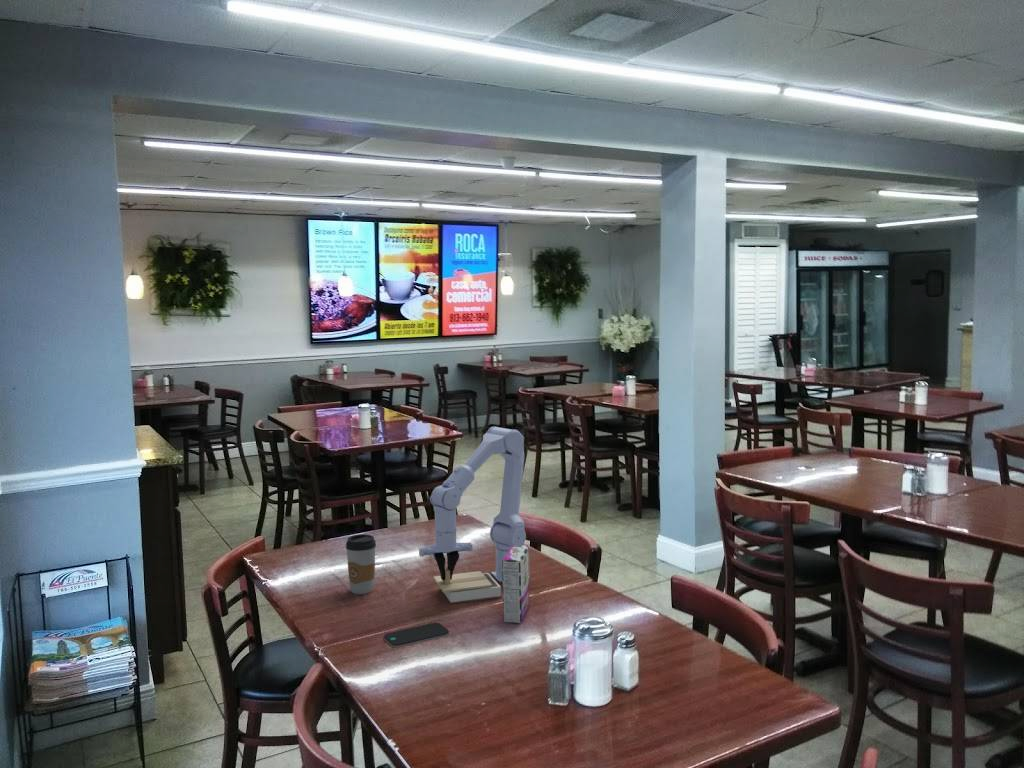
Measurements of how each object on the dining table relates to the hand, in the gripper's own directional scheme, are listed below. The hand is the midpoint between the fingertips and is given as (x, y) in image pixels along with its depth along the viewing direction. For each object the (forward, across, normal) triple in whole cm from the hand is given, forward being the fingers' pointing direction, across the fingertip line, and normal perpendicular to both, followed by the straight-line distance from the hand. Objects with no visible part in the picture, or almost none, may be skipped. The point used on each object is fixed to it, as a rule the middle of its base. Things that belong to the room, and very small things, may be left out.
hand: (446, 578), depth 215 cm
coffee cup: (+5, +21, -12) cm, 25 cm away
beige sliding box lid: (+2, -4, 0) cm, 5 cm away
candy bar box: (+5, -14, +19) cm, 24 cm away
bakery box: (+5, -7, 0) cm, 8 cm away
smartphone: (+5, +13, +23) cm, 27 cm away
